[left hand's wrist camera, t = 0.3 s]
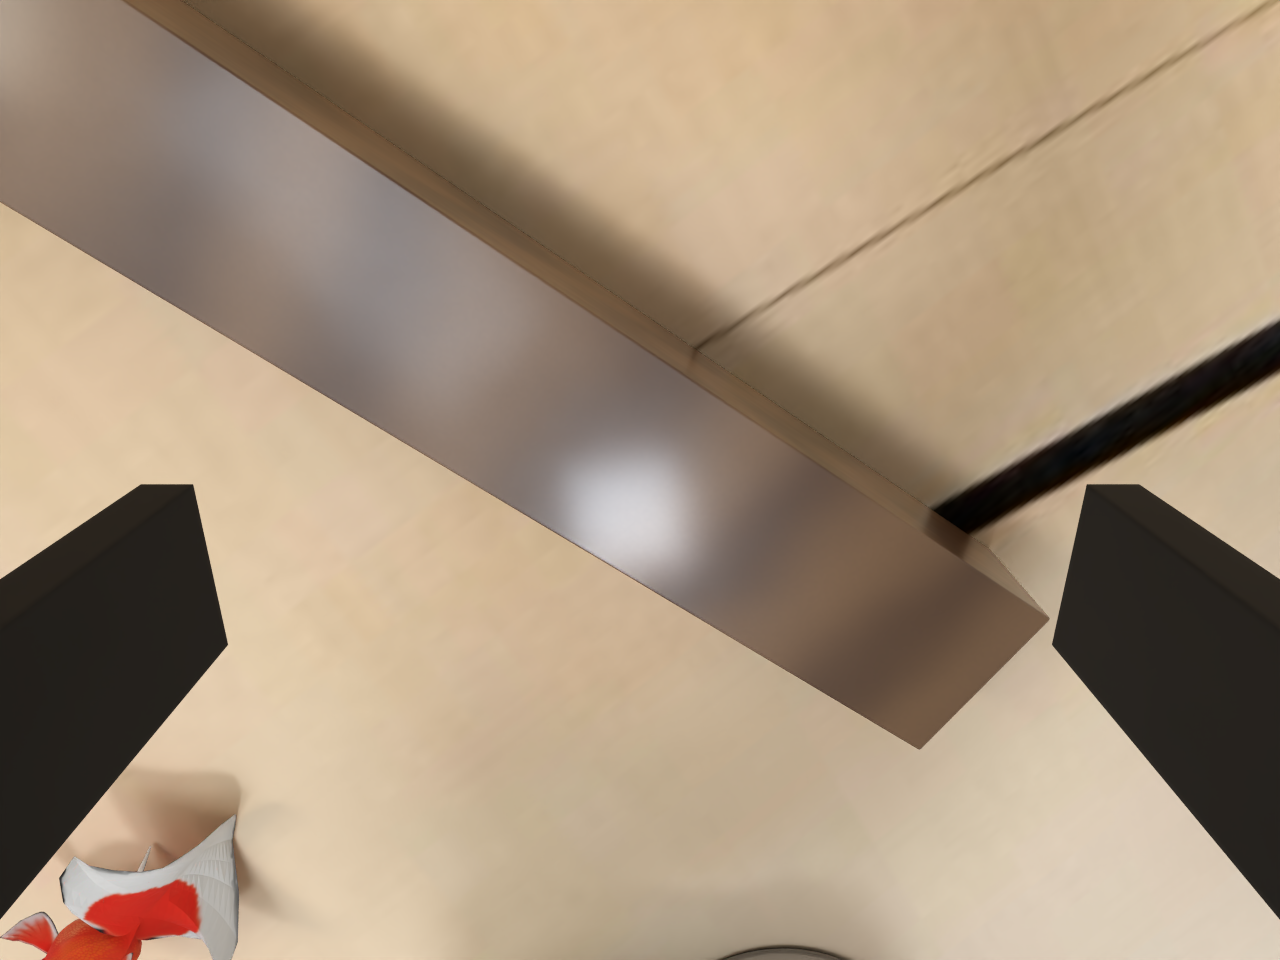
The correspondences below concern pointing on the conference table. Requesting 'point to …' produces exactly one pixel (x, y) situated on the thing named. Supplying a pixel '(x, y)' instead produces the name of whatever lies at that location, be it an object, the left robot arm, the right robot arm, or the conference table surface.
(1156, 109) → the conference table surface
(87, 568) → the left robot arm
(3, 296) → the conference table surface
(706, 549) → the thick board
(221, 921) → the fish
